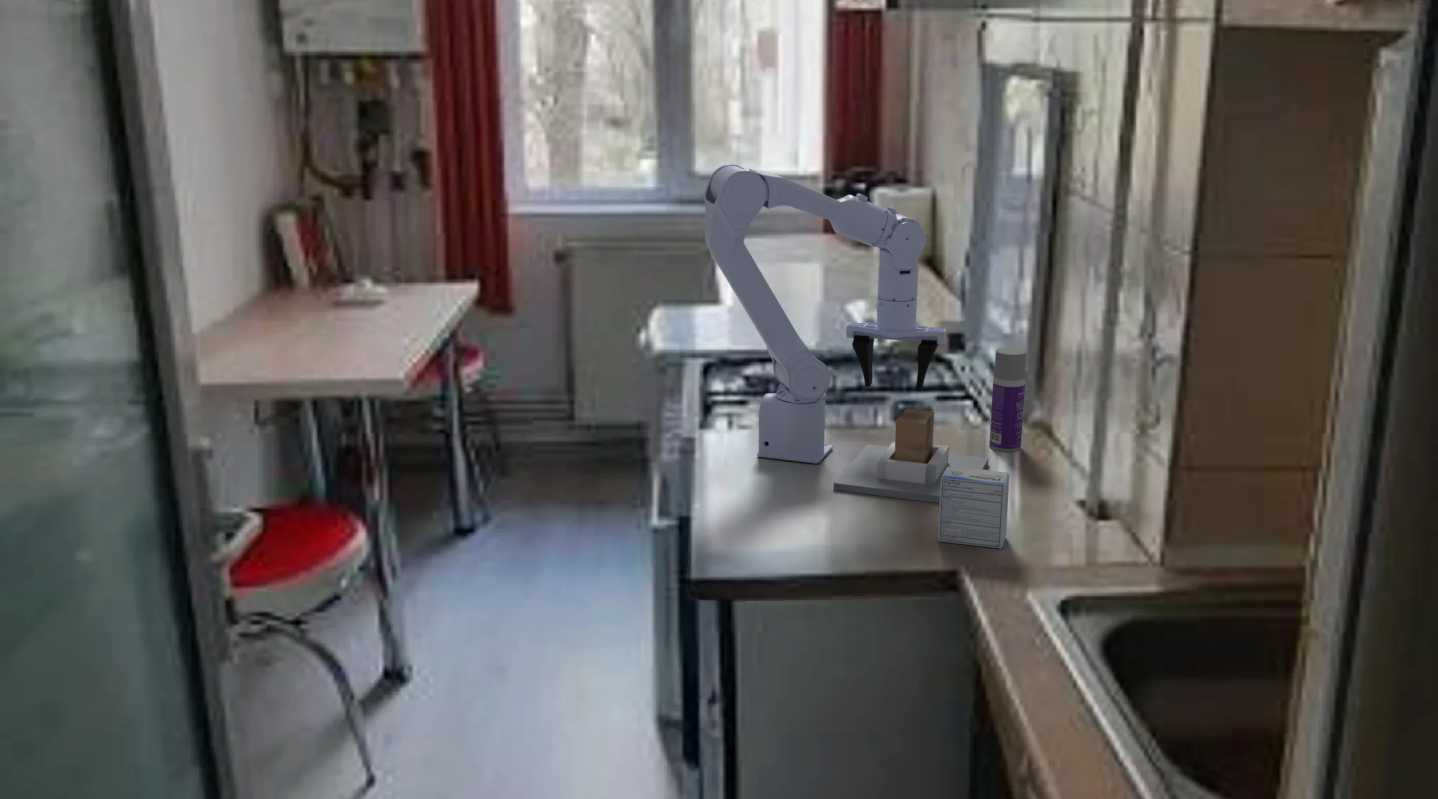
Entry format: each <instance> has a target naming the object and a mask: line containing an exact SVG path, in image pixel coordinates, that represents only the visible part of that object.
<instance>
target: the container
mask: <svg viewBox="0 0 1438 799" xmlns="http://www.w3.org/2000/svg"><path fill="white" fill-rule="evenodd" d="M1026 370H1027V350H1025V349H1023V348H1020V347H1019V348H1018V347H1009V346H1008V347H1007V346H1006V347H999V348H996V349H995V355H994V366H993V378H992V393H991V411H990V426H989V427H990V428H989V444H988V445H989V448H990V449H991V450H993V451H996V452H1001V453H1014V452H1015V453H1016V452H1018V451H1020V450H1022V449H1021V448H1022V434H1023V425H1024V424H1023V422H1024V408H1025V407H1024V406H1025V391H1026V374H1027V373H1026V372H1027V371H1026Z"/></svg>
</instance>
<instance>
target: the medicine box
mask: <svg viewBox="0 0 1438 799" xmlns="http://www.w3.org/2000/svg"><path fill="white" fill-rule="evenodd" d="M1010 476H1011V475H1010V473H1009V472H1006V471H1000V470H999V471H998V470H989V469H985V470H982V469H971V468H961V467H947V468H946V470H945V471H944V473H943V475H942V477H941V481H940V503H939V507H938V508H939V509H938V510H939V511H938V530H937V541H938V542H939V543H940V542H941V543H948V544H950V543H951V544H957V545H959V544H960V545H965V546H966V545H968V546H975V547H985V548H990V549H991V548H992V549H993V548H994V549H999V550H1000V549H1001V550H1002V549H1003V547H1004V543H1005V540H1006V536H1007V530H1008V529H1007V527H1008V508H1009V506H1008V505H1009V494H1010V493H1009V489H1010Z"/></svg>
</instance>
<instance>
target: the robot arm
mask: <svg viewBox="0 0 1438 799" xmlns="http://www.w3.org/2000/svg"><path fill="white" fill-rule="evenodd" d="M703 199H704V205H705V206H704V208H705V209H704V210H705V215H704V216H705V217H704V218H705V220H704V221H705V222H704V223H705V224H704V241H705V242H704V243H705V244H706V247H707V249H708V251H709V253H710V254H711V256H712V258H713V259H714V261H715V263H716V264H717V266H718V267H719V269H720V271H721V272H722V274H723V276H724V277H725V279H726V281H727V282H728V283H729V286H730V287H731V289H732V290H733V292H734V294H735V296H736V297H737V300H739V302H740V304H741V306H742V307H743V309H744V311H745V312H746V314H747V316H748V317H749V319H750V320H751V323H752V324H753V325H754V327H755V329H756V331H757V333H758V334H759V336H760V338H762V340H763V342H764V343H765V346H766V350H767V353H768V354H769V356H770V358H771V360H772V370H773V374H774V377H775V378H776V379H777V381H778V382H779V384H778V387H777V389H776V392H773V393H772V392H768V393H765V394H764V395H763V397H762V399H761V401H760V405H759V410H758V413H759V414H758V452H757V454H756V456H757V457H758V458H765V459H766V458H767V459H774V460H783V461H793V462H798V463H799V462H800V463H807V464H809V463H810V464H819V463H820V462H821V461H822V460H823V459H824V458H825V457H826V456H827V455H828V454H829V453H830V452H831V450H833V445H832V444H825V429H826V428H825V427H826V426H825V424H826V422H825V421H826V393H827V391H828V390H829V388H830V384H831V372H830V369H829V368H828V366H827V365H826V364H825V363H824V362H822V361H821V360H820V359H817V358H816V357H815V356H814V355H813V353H812V352H811V350H810V349H809V348H808V346H807V345H806V342H805V343H804V340H803V339H802V338H801V337H800V335H799V334H798V333H797V331H796V329H795V327H794V326H793V324H792V322H791V321H790V319H789V317H788V316H787V314H786V311H784V309H783V307H782V305H781V304H780V302H779V300H778V298H777V297H776V295H775V293H774V292H773V290H772V288H771V287H770V285H769V283H768V282H767V280H766V278H765V277H764V275H763V273H762V271H761V269H760V268H759V267H758V265H757V263H756V261H755V259H754V257H752V254H751V253H750V251H749V250H748V247H747V246H746V245H745V239H746V236H747V234H748V229H749V228H750V225H751V223H752V222H753V221H754V219H755V218H756V217H757V215H758V214H759V212H760V211H761V210H762V208H763V207H765V208H766V209H768V210H771V209H773V208H776V207H779V206H782V205H785V206H788V207H790V208H794V209H796V210H799V211H802V212H804V213H808V214H811V215H814V216H817V217H820V218H822V219H825V220H828V221H829V222H830V224H831V228H832V229H833V231H834V233H836V234H837V235H841V236H842V237H843V236H844V237H846V238H848V239H851V240H853V241H856V242H859V243H861V244H864V245H866V246H870V247H872V248H878V249H879V260H878V276H877V277H878V280H877V305H876V306H877V308H876V309H877V310H876V311H877V312H876V322H848V323H847V324H846V330H845V331H846V333H845V334H846V335H845V337H846V339H853V340H852V342H851V344H852V345H851V346H852V348H853V351H854V353H855V356H856V357H857V360H858V362H859V365H860V367H861V371H862V375H863V379H864V380H863V381H864V387H867V388H870V387H871V386H872V385H873V379H874V375H873V374H874V373H873V372H874V371H873V355H874V347H875V346H874V343H875V339H877V340H889V341H890V340H891V341H906V342H918V343H919V344H918V346H917V375H916V376H917V377H916V387H915V391H917V392H922V391H923V389H924V383H925V380H926V374H927V371H928V369H929V366H930V363H931V361H932V360H933V359H932V358H933V356H934V354H935V352H936V350H937V349H938V346H939V345H945V344H946V342H947V330H948V329H947V328H940V327H931V326H927V325H926V326H924V325H919V324H917V307H918V282H919V256H920V254H921V253H922V252H923V250H924V249H925V246H926V244H927V241H928V240H927V237H926V236H925V232H924V228H923V227H922V225H920V223H919V222H918V221H917V220H915V219H913V218H911V217H908V216H905V215H904V214H900V213H899V212H898V211H897V209H896V208H894V207H891V206H888V207H887V208H885V207H882V206H880V205H877V204H875V203H872V202H870V201H868V196H866V195H864V194H861V193H856V196H854V195H853V194H852V195H851V194H847V195H845V196H844V197H840V198H838V199H835V198H833V197H830V196H829V195H826V194H824V193H821V192H819V191H816V190H814V189H812V188H810V187H807V186H805V185H802V184H799V183H797V182H795V181H792V180H791V179H788V178H785V177H783V176H781V175H777V174H775V173H771V172H766V171H762V170H757V169H752V168H748V169H747V170H746V169H745V168H744V167H743V166H740V165H738V164H733V163H728V164H724V165H721V166H719V167H718V168H716V169H715V170H714V171H713V172H712V174H711V176H710V178H709V181H708V183H707V185H706V188H705V191H704V193H703Z"/></svg>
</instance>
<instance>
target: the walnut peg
mask: <svg viewBox="0 0 1438 799" xmlns="http://www.w3.org/2000/svg"><path fill="white" fill-rule="evenodd" d="M934 421H935V411H931V410H922V409H921V410H920V409H912V408H906V409H905V410H904V411H903V412H902V413H901V414H900V415H899V416H898V417H897V418H896V420H895V434H894V435H895V439H894V440H895V460H899V461H908V462H916V463H925V464H928V463H929V461H930V460H931V458H932V448H933V443H934Z"/></svg>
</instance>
